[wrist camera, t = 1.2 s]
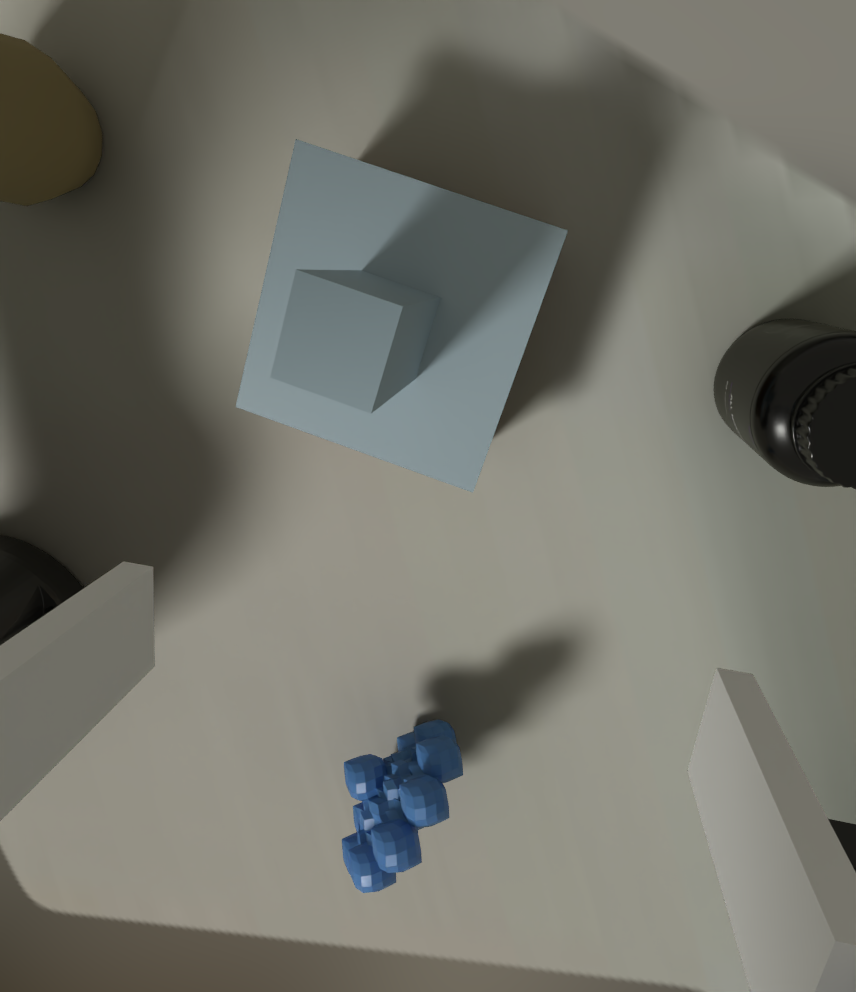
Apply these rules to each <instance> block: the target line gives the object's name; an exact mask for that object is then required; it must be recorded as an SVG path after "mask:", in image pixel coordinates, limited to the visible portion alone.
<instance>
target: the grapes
mask: <svg viewBox="0 0 856 992" xmlns="http://www.w3.org/2000/svg"><path fill="white" fill-rule="evenodd" d="M397 743H398V752H396V753H393V754H391V756H389V757H387V758H384V759H383V760H382V758H380V757H377V756H375V755H371V754H368V755H362V756H359V757H356V758H353V759H351V760H348V761H346V762H344V772H345V780H346V785H347V788H348V790H349V793H350V795H351V797H353V798H355V799H357V800H360V801H362V802H361V803H359V804H357V805H354V806H353V814H354V823H355V828H356V831H357V832H356V833H354V834H352V835H350V836H347V837H345V838H343V839H342V849H343V858H344V862H345V865H346V867H347V870H348V872H349V874H350V875H351V877H352V880H353V882H354V885H355V887H356V888H357V889H358V890H360V891H361V892H363V893H367V892H376V891H380V890H382V889H384V888H386V887H388V886H390V885H392V884H394V883H396V872H404V871H406V870H408V869H410V868H412V867H414V866H416V865H418V864H420V863H421V862H422V861H421V848H420V842H419V837H418V830H419V829H422V828H424V827H429V826H433V825H435V824H437V823H440V822H442V821H444V820H446V819H448V818H449V805H448V800H447V794H446V789H445V787H444V785H443V784H442V783H445V782H448V781H451V780H453V779H455V778H458V777H460V776H462V775H463V765H462V758H461V753H460V748H459V746H458V745H457V743H456V737H455V732H454V730H453V728H452V727H451V725H450V724H449V723H447V722H445V721H442V720H433V721H428V722H425V723H422V724H420V725H418V726H415V727H414V732H410V733H407V734H405V735H402V736H400V737H397Z"/></svg>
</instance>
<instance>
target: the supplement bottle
mask: <svg viewBox="0 0 856 992" xmlns="http://www.w3.org/2000/svg"><path fill="white" fill-rule="evenodd" d="M714 398H715V403H716V406H717V409H718V412H719V414H720V415H721V417H722V419H723V420H724V422H725V423H726V424H727V426H728V427H729V428H730V429H731V430H732V431H733V432H734V433H735V434H736V435H737V436H739V437H740V438H741V439H742V440H743V441H744V442H745V443H746V444H747V445H748V446H750V447H751V448H752V449H753V450H754V451H755V452H756V453H757V454H758V455H759V456H761V457H762V458H763V459H764V460H765V461H766V462H767V463H768V464H769V465H770V466H772V467H773V468H774V469H775V470H777V471H778V472H780V473H781V474H783V475H784V476H786V477H788V478H790V479H792V480H794V481H797V482H800V483H803V484H807V485H812V486H820V487H835V486H843V487H852V488H854V489H856V331H852V330H848V329H843V328H839V327H835V326H830V325H826V324H821V323H817V322H812V321H807V320H801V319H779V320H773V321H770V322H766V323H763V324H761V325H758V326H756V327H754V328H752V329H751V330H749V331H747V332H746V333H744V334H743V335H742V336H740V337H739V338H738V339H737V340H736V341H735V342H734V343H733V344H732V345H731V346H730V347H729V349H728V350H727V351H726V353H725V354H724V356H723V358H722V359H721V361H720V363H719V366H718V368H717V371H716V375H715V380H714Z"/></svg>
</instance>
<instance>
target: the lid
mask: <svg viewBox="0 0 856 992" xmlns="http://www.w3.org/2000/svg"><path fill="white" fill-rule="evenodd" d="M567 232H568V230H565V229H562V228H559V227H556V226H553V225H550V224H547V223H544V222H541V221H538V220H535V219H532V218H529V217H526V216H523V215H520V214H517V213H514V212H511V211H508V210H505V209H502V208H500V207H497V206H494V205H491V204H488V203H485V202H482V201H479V200H476V199H473V198H470V197H467V196H464V195H461V194H458V193H455V192H452V191H449V190H446V189H443V188H440V187H437V186H434V185H431V184H428V183H425V182H422V181H419V180H416V179H413V178H410V177H407V176H404V175H401V174H398V173H395V172H392V171H389V170H386V169H383V168H380V167H377V166H374V165H371V164H368V163H365V162H362V161H360V160H357V159H354V158H351V157H348V156H345V155H342V154H339V153H336V152H333V151H330V150H327V149H324V148H321V147H318V146H315V145H312V144H309V143H306V142H303V141H300V140H297V139H296V140H295V145H294V149H293V154H292V158H291V163H290V167H289V172H288V176H287V181H286V185H285V189H284V194H283V198H282V203H281V207H280V212H279V216H278V221H277V225H276V229H275V234H274V238H273V243H272V247H271V252H270V256H269V261H268V265H267V270H266V274H265V278H264V283H263V287H262V292H261V296H260V301H259V305H258V310H257V314H256V318H255V323H254V327H253V332H252V336H251V341H250V345H249V350H248V354H247V359H246V363H245V367H244V372H243V376H242V381H241V385H240V390H239V394H238V399H237V403H236V407H237V408H240V409H243V410H246V411H248V412H251V413H254V414H257V415H259V416H262V417H265V418H268V419H270V420H273V421H276V422H279V423H282V424H284V425H287V426H290V427H293V428H295V429H298V430H301V431H304V432H306V433H309V434H312V435H315V436H318V437H320V438H323V439H326V440H329V441H331V442H334V443H337V444H340V445H342V446H345V447H348V448H351V449H354V450H356V451H359V452H362V453H365V454H367V455H370V456H373V457H376V458H378V459H381V460H384V461H387V462H390V463H392V464H395V465H398V466H401V467H403V468H406V469H409V470H412V471H414V472H417V473H420V474H423V475H426V476H428V477H431V478H434V479H437V480H439V481H442V482H445V483H448V484H450V485H453V486H456V487H459V488H462V489H464V490H467V491H470V492H473V491H474V488H475V485H476V483H477V480H478V477H479V474H480V472H481V469H482V466H483V463H484V461H485V458H486V455H487V452H488V450H489V447H490V444H491V441H492V438H493V436H494V433H495V430H496V427H497V425H498V422H499V419H500V416H501V414H502V411H503V408H504V405H505V403H506V400H507V397H508V394H509V392H510V389H511V386H512V383H513V381H514V378H515V375H516V372H517V370H518V367H519V364H520V361H521V359H522V356H523V353H524V350H525V348H526V345H527V342H528V339H529V337H530V334H531V331H532V328H533V326H534V323H535V320H536V317H537V315H538V312H539V309H540V306H541V304H542V301H543V298H544V295H545V293H546V290H547V287H548V284H549V282H550V279H551V276H552V273H553V271H554V268H555V265H556V262H557V260H558V257H559V254H560V251H561V249H562V246H563V243H564V240H565V238H566V235H567Z"/></svg>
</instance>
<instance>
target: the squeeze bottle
mask: <svg viewBox="0 0 856 992" xmlns="http://www.w3.org/2000/svg"><path fill="white" fill-rule="evenodd" d="M101 156H102V131H101V127H100V124H99V121H98V118H97V114H96V111H95V110H94V108H93V107H92V105H91V104H90V103H89V101H88V100H87V98H86V97H85V96H84V94H83V93H82V92H81V91H80V89H79V88H78V87H77V86H76V85H75V84H74V83H73V82H72V81H71V80H70V78H69V77H68V76H67V75H66V74H65V73H64V72H63V71H62V70H61V68H60V67H59V66H58V65H57V64H56V63H55V62H54V61H53V60H52V58H50V57H49V56H47V55H46V54H44V53H43V52H41V51H40V50H38V49H37V48H35V47H34V46H33V45H31V44H30V43H28V42H27V41H25V40H22V39H18V38H15V37H11V36H7V35H4V34H0V201H3V202H8V203H14V204H19V205H24V206H29V205H33V204H36V203H40V202H43V201H46V200H50V199H53V198H55V197H57V196H60V195H62V194H64V193H67V192H69V191H72V190H74V189H76V188H79V187H81V186H82V185H83V184H84V183H85V182H86V181H87V180H88V179H89V178H91V177H92V176H93V175H94V173H95V171H96V168H97V166H98V163H99V161H100V158H101Z"/></svg>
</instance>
